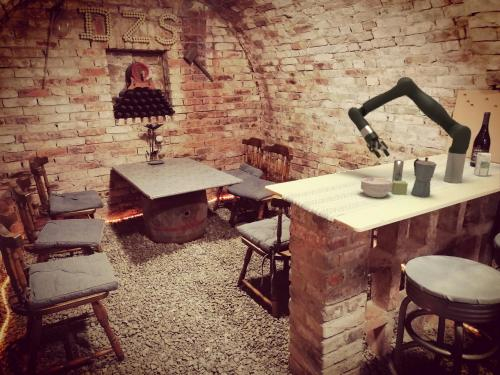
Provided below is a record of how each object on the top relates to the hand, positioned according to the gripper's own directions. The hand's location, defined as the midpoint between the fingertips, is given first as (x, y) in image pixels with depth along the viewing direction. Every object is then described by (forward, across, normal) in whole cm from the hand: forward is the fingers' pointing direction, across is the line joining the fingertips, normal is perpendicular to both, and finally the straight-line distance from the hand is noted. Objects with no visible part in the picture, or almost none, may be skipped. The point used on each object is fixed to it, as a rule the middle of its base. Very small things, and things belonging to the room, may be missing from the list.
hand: (384, 156), depth 206 cm
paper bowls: (+21, -27, 0) cm, 35 cm away
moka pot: (+31, -8, -9) cm, 33 cm away
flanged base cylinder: (+18, 0, +4) cm, 18 cm away
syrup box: (+30, +67, -8) cm, 74 cm away
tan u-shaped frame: (+22, -11, -1) cm, 24 cm away
